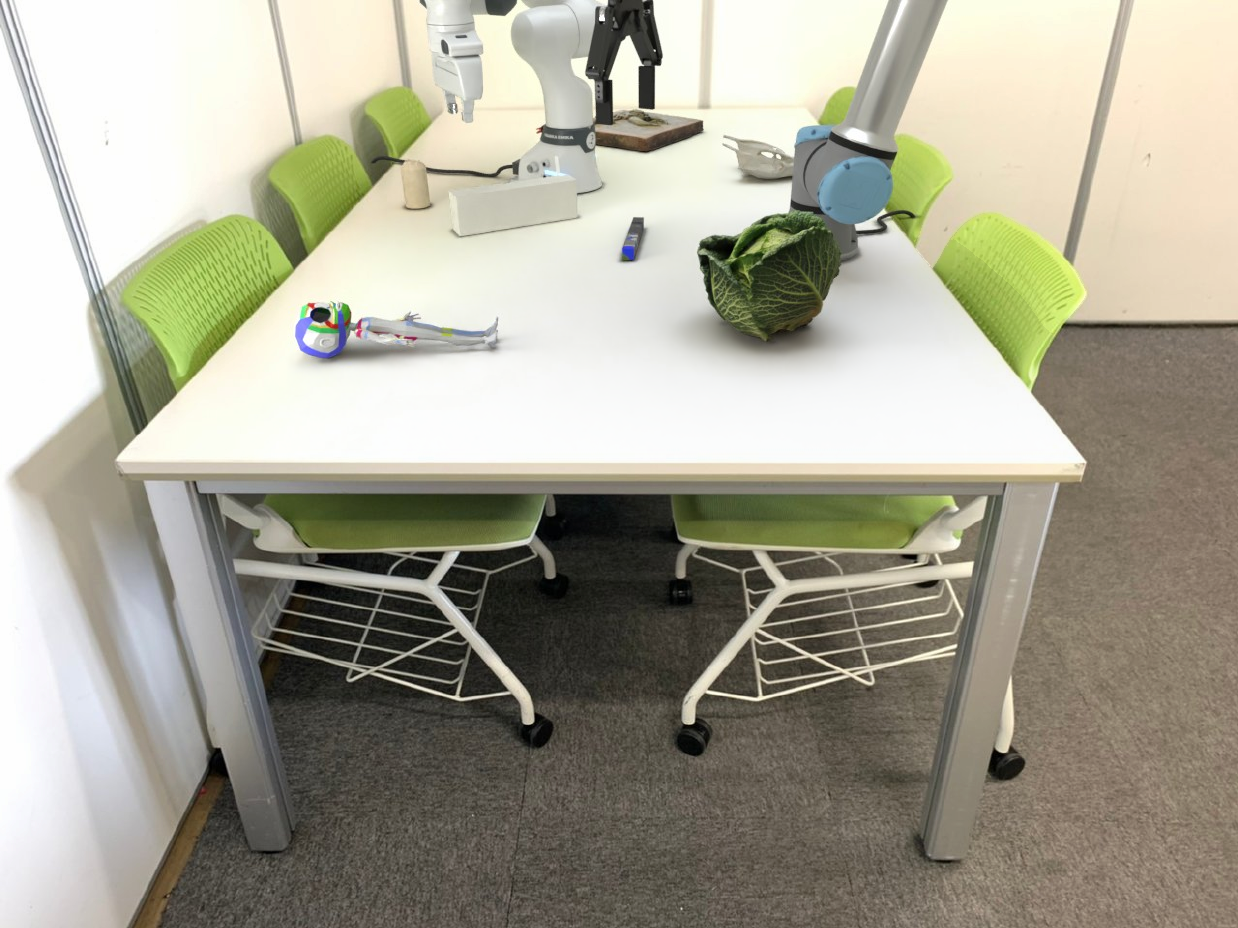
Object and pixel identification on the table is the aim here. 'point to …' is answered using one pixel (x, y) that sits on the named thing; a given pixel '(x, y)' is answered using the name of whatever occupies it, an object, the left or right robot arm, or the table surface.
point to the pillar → (633, 238)
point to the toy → (371, 330)
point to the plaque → (645, 130)
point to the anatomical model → (761, 159)
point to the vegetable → (770, 272)
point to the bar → (513, 204)
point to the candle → (415, 184)
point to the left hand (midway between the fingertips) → (460, 117)
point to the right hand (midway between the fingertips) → (626, 116)
